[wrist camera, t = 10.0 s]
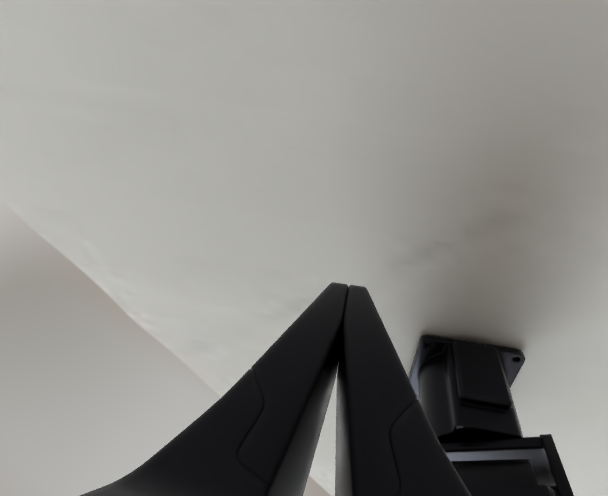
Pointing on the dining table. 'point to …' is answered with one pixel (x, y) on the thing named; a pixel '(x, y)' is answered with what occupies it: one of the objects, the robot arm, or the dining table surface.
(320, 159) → the dining table surface
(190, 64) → the dining table surface
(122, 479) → the robot arm
